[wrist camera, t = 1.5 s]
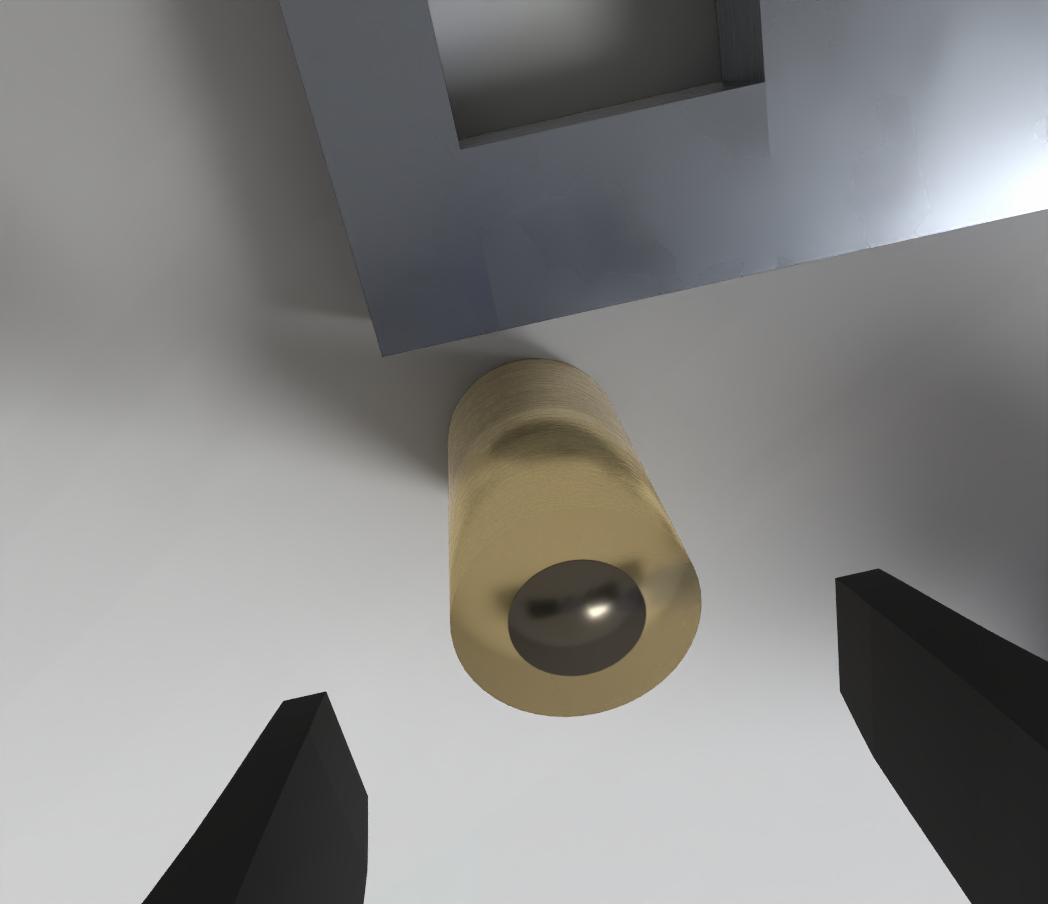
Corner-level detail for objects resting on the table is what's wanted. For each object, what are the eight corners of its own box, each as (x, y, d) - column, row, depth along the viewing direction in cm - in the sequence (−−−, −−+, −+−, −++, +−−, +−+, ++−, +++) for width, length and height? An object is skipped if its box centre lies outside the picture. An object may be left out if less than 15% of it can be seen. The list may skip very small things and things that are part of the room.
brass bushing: (628, 494, 20) (714, 689, 14) (469, 529, 20) (481, 741, 14) (602, 341, 18) (687, 483, 12) (429, 380, 18) (422, 541, 12)
